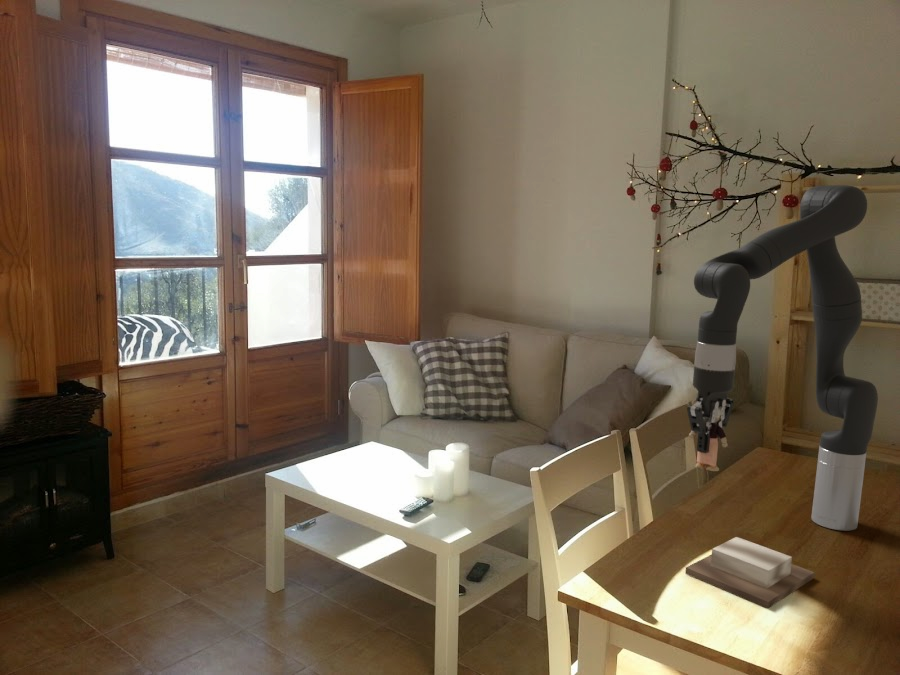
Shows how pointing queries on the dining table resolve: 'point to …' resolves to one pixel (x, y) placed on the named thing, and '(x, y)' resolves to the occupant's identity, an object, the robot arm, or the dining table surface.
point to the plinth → (748, 586)
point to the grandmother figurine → (711, 445)
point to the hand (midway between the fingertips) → (707, 450)
